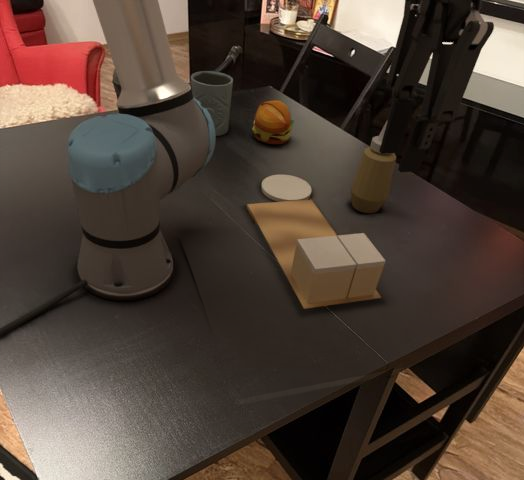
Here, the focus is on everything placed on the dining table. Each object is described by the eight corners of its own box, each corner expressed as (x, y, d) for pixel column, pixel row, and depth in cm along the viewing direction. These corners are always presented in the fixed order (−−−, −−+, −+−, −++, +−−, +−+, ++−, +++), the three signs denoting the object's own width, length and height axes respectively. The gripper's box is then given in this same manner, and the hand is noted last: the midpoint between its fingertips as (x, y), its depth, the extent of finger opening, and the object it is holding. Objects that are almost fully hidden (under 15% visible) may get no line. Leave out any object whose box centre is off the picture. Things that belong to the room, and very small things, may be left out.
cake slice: (373, 294, 81) (385, 260, 76) (347, 298, 80) (358, 264, 75) (353, 266, 86) (363, 232, 81) (328, 269, 85) (337, 235, 80)
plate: (288, 209, 99) (289, 205, 99) (250, 187, 104) (251, 183, 103) (320, 193, 105) (321, 189, 105) (283, 173, 110) (284, 169, 109)
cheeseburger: (292, 131, 127) (298, 95, 118) (288, 158, 121) (294, 122, 113) (254, 125, 126) (257, 89, 118) (248, 151, 121) (251, 115, 112)
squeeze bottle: (355, 218, 100) (379, 130, 87) (340, 198, 105) (361, 112, 92) (389, 216, 102) (418, 130, 89) (373, 196, 107) (398, 113, 94)
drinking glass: (207, 140, 118) (208, 87, 109) (183, 125, 123) (182, 73, 114) (238, 132, 123) (241, 81, 114) (214, 117, 128) (215, 68, 119)
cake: (346, 298, 80) (356, 264, 75) (307, 303, 78) (315, 269, 73) (327, 269, 85) (335, 235, 80) (290, 273, 83) (297, 239, 78)
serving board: (380, 302, 82) (381, 297, 81) (302, 313, 78) (304, 308, 77) (310, 203, 102) (311, 199, 101) (246, 208, 98) (246, 203, 97)
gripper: (567, -53, 42) (459, 193, 59) (454, -82, 53) (391, 131, 70) (497, -61, 40) (407, 196, 56) (395, -89, 51) (345, 133, 68)
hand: (398, 160), depth 63 cm, fingers open, 4 cm apart
